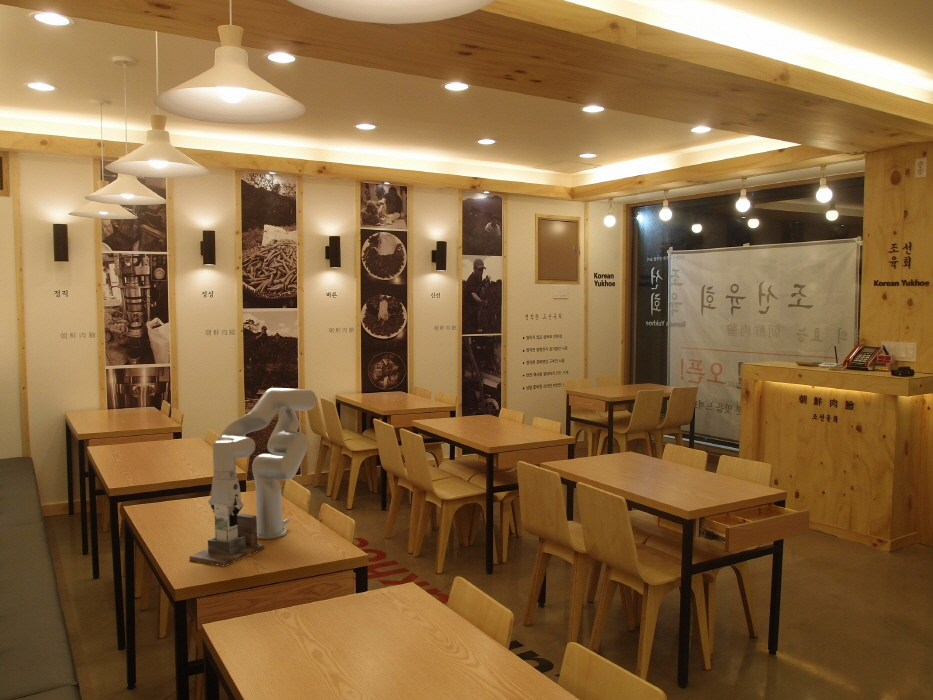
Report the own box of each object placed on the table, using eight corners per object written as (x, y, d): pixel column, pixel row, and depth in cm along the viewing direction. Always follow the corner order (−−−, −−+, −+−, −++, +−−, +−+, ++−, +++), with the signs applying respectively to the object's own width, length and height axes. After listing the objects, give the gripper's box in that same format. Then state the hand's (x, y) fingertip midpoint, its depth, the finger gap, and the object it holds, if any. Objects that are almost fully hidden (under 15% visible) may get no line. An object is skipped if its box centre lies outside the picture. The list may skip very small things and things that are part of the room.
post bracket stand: (230, 543, 275) (229, 511, 274) (264, 548, 268) (262, 516, 267) (189, 560, 256) (188, 526, 256) (224, 566, 250) (223, 532, 249)
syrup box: (238, 540, 264) (237, 500, 263) (228, 545, 258) (226, 505, 257) (225, 539, 265) (224, 499, 265) (214, 544, 260) (213, 503, 259)
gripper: (251, 474, 260) (252, 524, 261) (214, 470, 267) (215, 519, 268) (236, 479, 253) (237, 530, 254) (198, 474, 261) (200, 524, 262)
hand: (226, 524), depth 261 cm, fingers closed on syrup box, 6 cm apart
